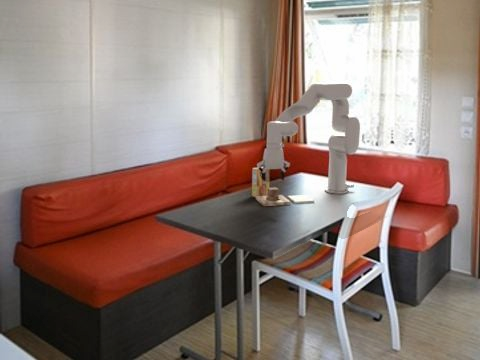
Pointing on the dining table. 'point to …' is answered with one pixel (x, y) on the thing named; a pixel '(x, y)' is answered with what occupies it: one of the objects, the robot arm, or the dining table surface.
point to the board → (300, 199)
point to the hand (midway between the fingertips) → (272, 179)
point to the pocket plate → (281, 201)
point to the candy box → (259, 183)
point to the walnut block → (273, 194)
